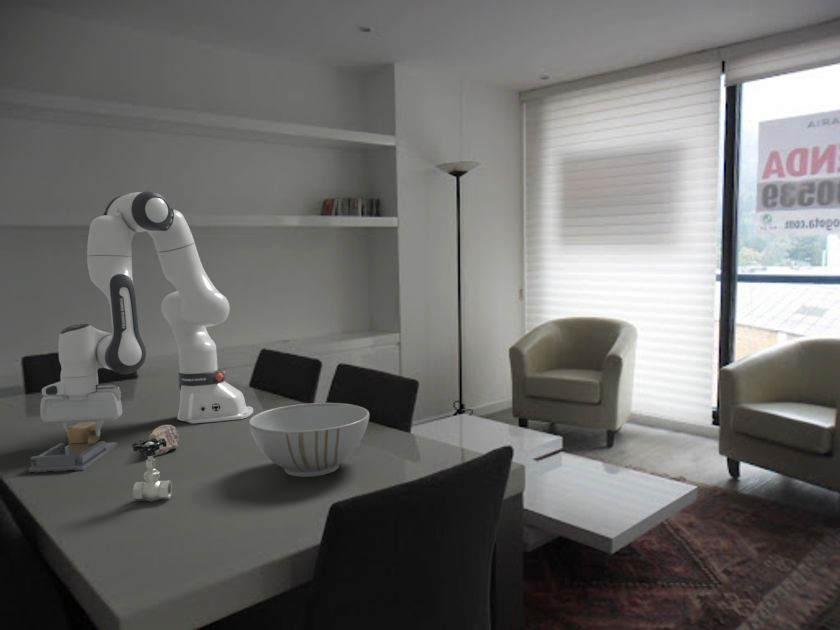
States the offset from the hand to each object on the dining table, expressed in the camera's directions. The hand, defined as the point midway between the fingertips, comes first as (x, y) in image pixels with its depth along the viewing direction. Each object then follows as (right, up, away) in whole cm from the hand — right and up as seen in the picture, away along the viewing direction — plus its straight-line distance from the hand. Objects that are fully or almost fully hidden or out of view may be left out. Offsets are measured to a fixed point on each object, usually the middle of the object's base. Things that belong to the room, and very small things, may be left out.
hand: (84, 436), depth 179 cm
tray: (+5, -3, -14) cm, 15 cm away
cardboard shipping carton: (0, -2, 0) cm, 2 cm away
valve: (+36, -5, -45) cm, 58 cm away
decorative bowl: (+66, -2, -27) cm, 71 cm away
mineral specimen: (+24, -2, -9) cm, 26 cm away
